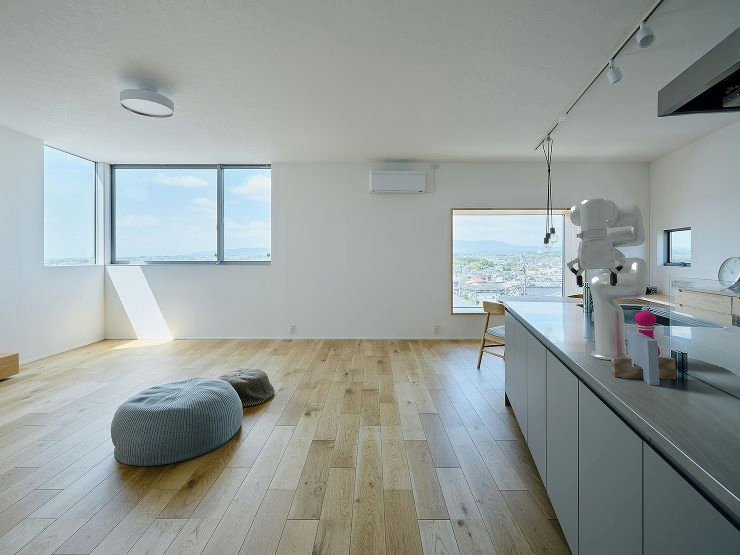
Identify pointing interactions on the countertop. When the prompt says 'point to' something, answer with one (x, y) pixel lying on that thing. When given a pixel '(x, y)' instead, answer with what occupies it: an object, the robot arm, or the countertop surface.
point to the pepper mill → (646, 323)
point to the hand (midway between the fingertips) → (596, 286)
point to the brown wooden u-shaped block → (626, 370)
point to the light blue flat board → (644, 355)
